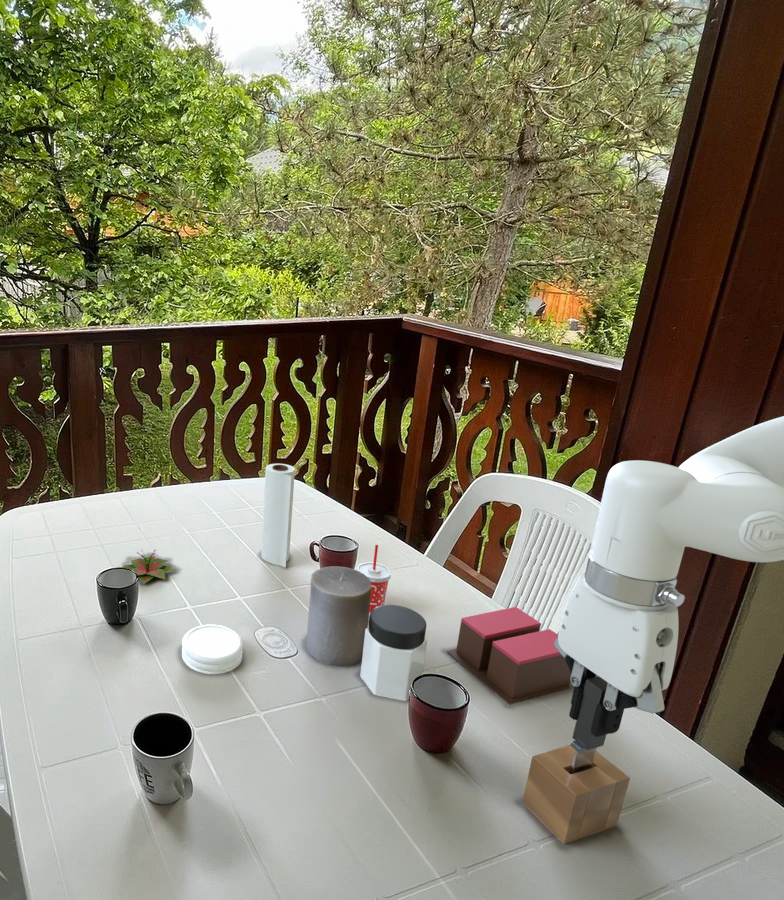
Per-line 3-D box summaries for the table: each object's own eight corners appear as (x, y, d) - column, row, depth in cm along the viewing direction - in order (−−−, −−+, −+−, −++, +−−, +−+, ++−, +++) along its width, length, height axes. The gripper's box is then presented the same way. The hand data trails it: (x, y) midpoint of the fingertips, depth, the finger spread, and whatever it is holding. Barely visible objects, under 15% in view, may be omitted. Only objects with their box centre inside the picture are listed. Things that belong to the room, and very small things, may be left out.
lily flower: (142, 593, 124) (141, 572, 123) (107, 570, 133) (106, 550, 132) (188, 573, 132) (188, 553, 131) (152, 553, 141) (152, 534, 139)
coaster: (188, 681, 99) (188, 662, 98) (176, 644, 109) (176, 626, 108) (249, 674, 101) (250, 655, 100) (233, 637, 111) (233, 620, 110)
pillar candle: (369, 644, 109) (378, 566, 104) (356, 677, 101) (365, 594, 96) (314, 629, 113) (320, 553, 108) (297, 659, 105) (303, 579, 100)
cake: (510, 641, 110) (517, 602, 108) (578, 691, 98) (588, 649, 96) (445, 655, 106) (451, 616, 104) (508, 710, 94) (517, 666, 92)
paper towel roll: (263, 551, 142) (268, 461, 135) (291, 555, 140) (297, 464, 133) (257, 566, 135) (261, 471, 128) (285, 571, 133) (291, 475, 127)
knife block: (570, 791, 80) (583, 740, 77) (614, 831, 74) (630, 778, 72) (520, 808, 78) (532, 755, 75) (562, 850, 72) (576, 795, 70)
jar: (381, 661, 105) (388, 597, 101) (428, 685, 99) (437, 618, 95) (350, 685, 99) (357, 618, 95) (398, 712, 93) (407, 642, 89)
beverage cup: (345, 610, 119) (351, 542, 115) (367, 600, 122) (374, 534, 118) (370, 626, 114) (378, 556, 110) (393, 615, 118) (401, 547, 113)
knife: (574, 802, 77) (606, 674, 71) (588, 816, 75) (623, 685, 70) (551, 810, 76) (581, 680, 70) (565, 824, 74) (598, 691, 68)
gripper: (737, 613, 60) (688, 769, 66) (587, 541, 74) (558, 674, 80) (679, 627, 58) (634, 787, 63) (537, 550, 72) (510, 686, 78)
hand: (592, 723), depth 72 cm, fingers closed on knife, 2 cm apart
